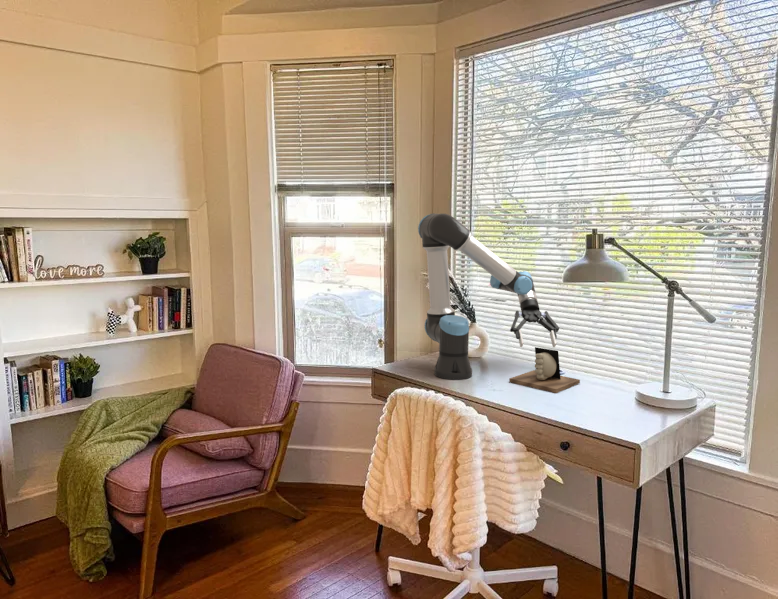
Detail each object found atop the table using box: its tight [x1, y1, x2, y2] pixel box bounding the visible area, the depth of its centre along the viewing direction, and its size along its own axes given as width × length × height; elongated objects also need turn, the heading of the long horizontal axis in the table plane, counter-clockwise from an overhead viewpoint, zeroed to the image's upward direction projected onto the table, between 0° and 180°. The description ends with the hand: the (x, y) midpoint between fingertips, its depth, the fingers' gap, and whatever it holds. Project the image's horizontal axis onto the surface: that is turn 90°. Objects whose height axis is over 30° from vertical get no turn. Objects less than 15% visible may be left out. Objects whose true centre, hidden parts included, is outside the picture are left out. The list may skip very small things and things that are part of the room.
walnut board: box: [508, 369, 581, 394], centre depth 224 cm, size 20×18×2 cm
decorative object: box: [534, 346, 561, 380], centre depth 223 cm, size 12×10×10 cm
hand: (538, 345), depth 235 cm, fingers open, 13 cm apart
